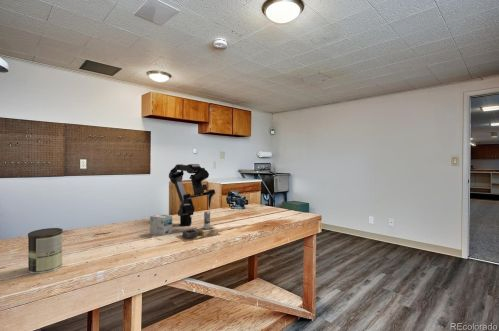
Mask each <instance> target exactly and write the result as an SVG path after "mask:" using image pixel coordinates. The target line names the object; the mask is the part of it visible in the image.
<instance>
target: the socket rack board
mask: <svg viewBox="0 0 499 331" xmlns="http://www.w3.org/2000/svg"><path fill="white" fill-rule="evenodd" d="M221 235H223V234H221V233H219V228H217V227H214V226H212V225H210V230H204V226H200V227H199V226H198V227H195V229H194V228H193V229H192V228H191V229H187V230H186V229H185V230H182V234H180V235H176V236H174V237H175V238H176V239H179V240H181V241H182V242H184V243H188V242H193V241H196V240H201V239H202V240H203V239H207V238H212V237H217V236H221Z"/></svg>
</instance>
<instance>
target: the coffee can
mask: <svg viewBox="0 0 499 331" xmlns="http://www.w3.org/2000/svg"><path fill="white" fill-rule="evenodd" d="M63 230H64V229H63V228H60V227H49V228H48V227H47V228H41V229H37V230H36V229H35V230H32V231H30V232H28V233H27V236H28V237H27V239H28V240H27V244H28V246H27V247H28V249H27V252H28V253H27V254H28V256H27V258H28V262H27V266H28V267H27V268H28V269H27V272H28V274H32V275H39V274H40V275H41V274H47V273H50V272H54V271H56V270H59V269H60V268H61V267H62V266H63V232H64V231H63Z"/></svg>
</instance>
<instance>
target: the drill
mask: <svg viewBox="0 0 499 331" xmlns="http://www.w3.org/2000/svg"><path fill="white" fill-rule="evenodd" d="M203 213H204V214H203V215H204V216H203V218H204V219H203V227H204V230H210V226H211V211H204V212H203Z"/></svg>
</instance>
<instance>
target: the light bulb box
mask: <svg viewBox="0 0 499 331" xmlns="http://www.w3.org/2000/svg"><path fill="white" fill-rule="evenodd" d="M149 216H150V217H149V218H150V219H149V224H150V225H149V230H150V231H149V235H152V236H154V235H160V236H166V235H168V234H171V233H173V215H172V214H171V215H170V214H164V213H163V214H162V213H157V214H151V215H149Z"/></svg>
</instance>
